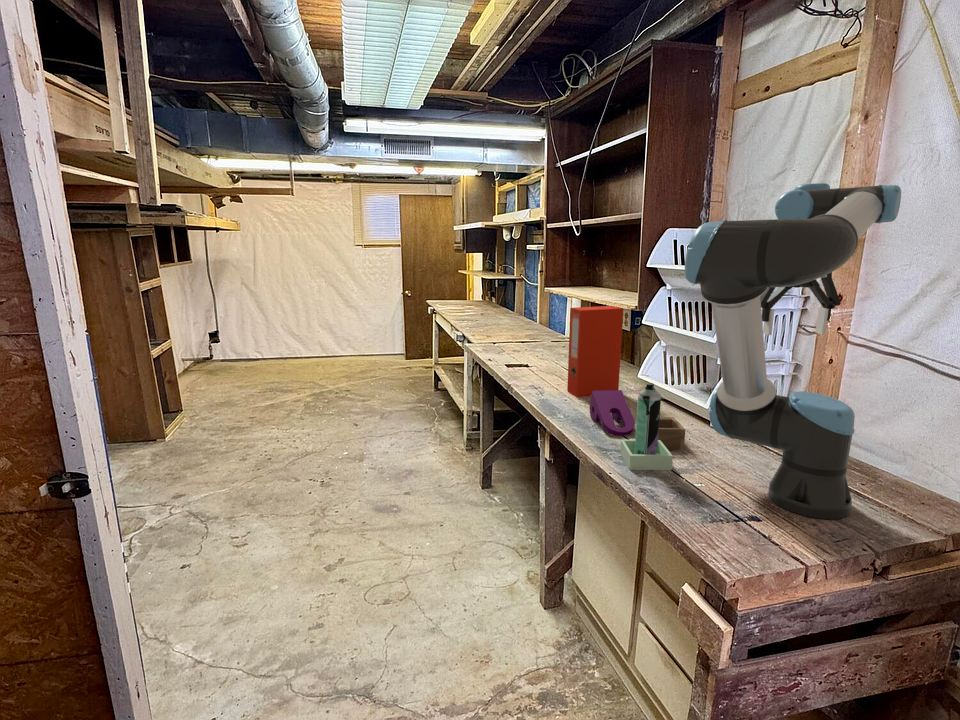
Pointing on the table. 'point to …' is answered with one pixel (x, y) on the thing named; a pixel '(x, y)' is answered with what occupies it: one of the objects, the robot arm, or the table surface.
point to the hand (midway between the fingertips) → (793, 333)
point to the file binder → (594, 349)
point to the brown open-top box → (671, 433)
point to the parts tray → (645, 457)
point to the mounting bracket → (611, 411)
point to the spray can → (647, 421)
